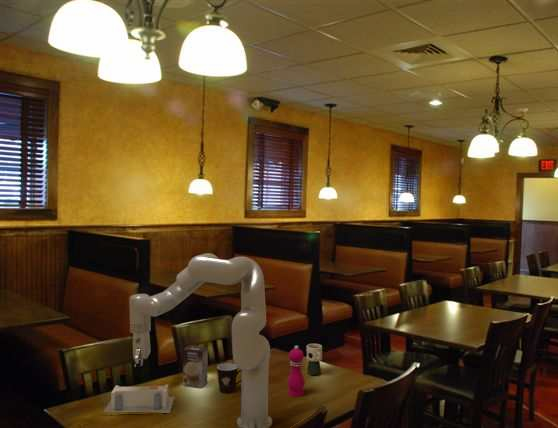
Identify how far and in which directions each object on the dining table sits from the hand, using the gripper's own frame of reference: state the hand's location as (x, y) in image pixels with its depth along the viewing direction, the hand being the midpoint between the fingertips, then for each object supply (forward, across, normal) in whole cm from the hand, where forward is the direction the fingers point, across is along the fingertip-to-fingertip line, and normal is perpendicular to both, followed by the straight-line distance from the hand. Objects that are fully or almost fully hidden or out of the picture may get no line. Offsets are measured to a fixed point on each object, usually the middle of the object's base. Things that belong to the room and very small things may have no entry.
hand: (141, 371), depth 189 cm
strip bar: (+12, 0, +1) cm, 13 cm away
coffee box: (+14, +22, -18) cm, 32 cm away
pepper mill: (+16, +10, -60) cm, 63 cm away
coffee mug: (+15, +14, -33) cm, 39 cm away
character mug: (+16, +32, -71) cm, 80 cm away
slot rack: (+14, 0, +1) cm, 14 cm away
